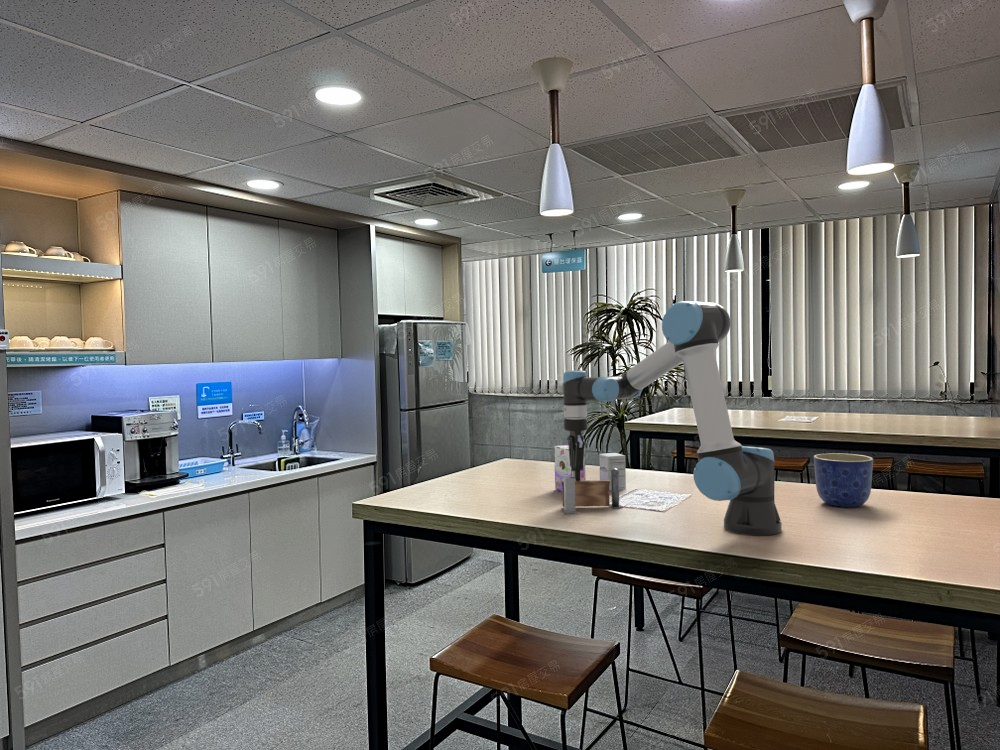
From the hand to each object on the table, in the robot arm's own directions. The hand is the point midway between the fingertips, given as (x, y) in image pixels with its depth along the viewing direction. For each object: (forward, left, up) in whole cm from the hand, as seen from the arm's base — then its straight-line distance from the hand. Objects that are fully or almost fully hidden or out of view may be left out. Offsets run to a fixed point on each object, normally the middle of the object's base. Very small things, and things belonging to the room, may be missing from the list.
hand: (576, 489), depth 221 cm
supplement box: (+26, -21, -6) cm, 34 cm away
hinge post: (-4, -12, -6) cm, 14 cm away
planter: (-18, -83, -6) cm, 85 cm away
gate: (-2, -2, -5) cm, 6 cm away
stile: (-7, +4, -6) cm, 10 cm away
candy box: (+23, -4, -6) cm, 24 cm away
